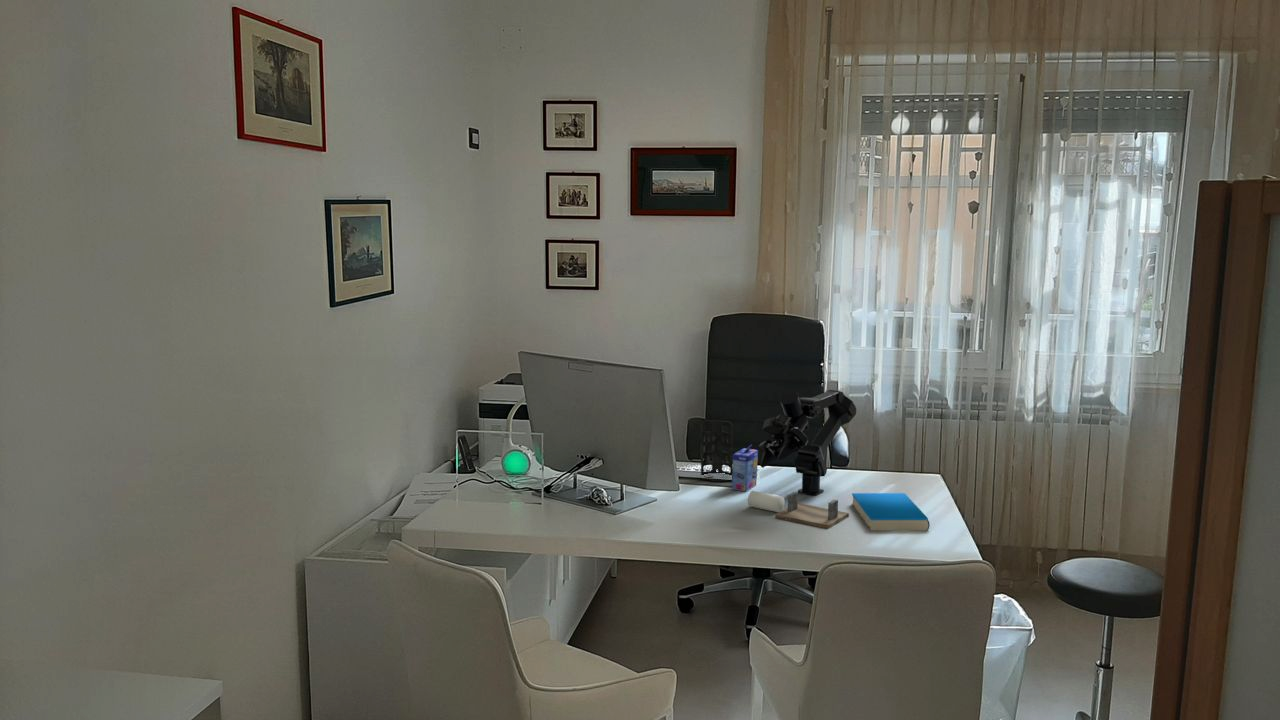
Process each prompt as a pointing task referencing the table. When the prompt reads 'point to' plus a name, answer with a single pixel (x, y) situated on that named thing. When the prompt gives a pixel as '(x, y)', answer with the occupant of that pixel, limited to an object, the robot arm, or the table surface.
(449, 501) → the table surface
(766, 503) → the cylinder
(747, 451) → the blue purple upright box
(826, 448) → the robot arm
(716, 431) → the holder
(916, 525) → the book
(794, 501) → the roll holder
